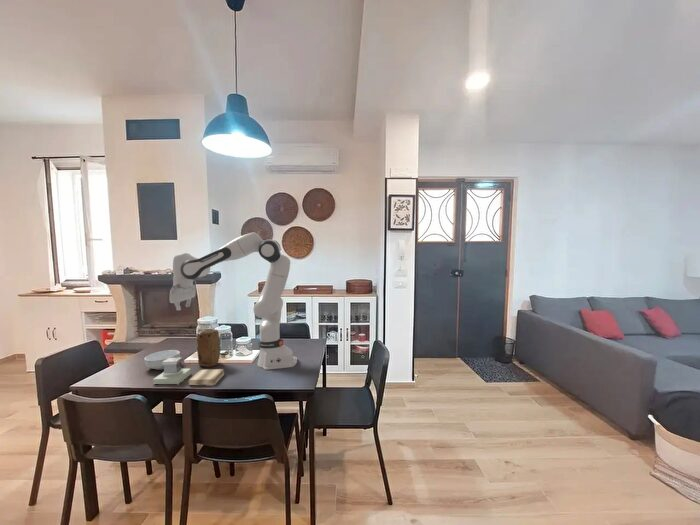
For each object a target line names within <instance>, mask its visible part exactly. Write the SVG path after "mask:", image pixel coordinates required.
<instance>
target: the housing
mask: <svg viewBox="0 0 700 525" xmlns="http://www.w3.org/2000/svg"><path fill="white" fill-rule="evenodd" d="M183 358H184V357H180V358H168V359H166V360H164V361H163V362H162V365H164V369H163V372H164V373H163V372H162V373H163V376H177V375H179V374H180V373H181V372H182V371H183V369H184V368H182V361H183Z"/></svg>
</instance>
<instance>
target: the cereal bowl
mask: <svg viewBox="0 0 700 525" xmlns="http://www.w3.org/2000/svg"><path fill="white" fill-rule="evenodd" d="M168 358H181V351H179V349H178V350H177V349H168V350H167V349H166V350H162V351H161V350H160V351H156V352H154V353H150V354H148V355H146V356H144V360H143V361H144V364H145V366H146V367H147V368H149V369H155V370H164V365H162V362H163V361H164V360H166V359H168Z"/></svg>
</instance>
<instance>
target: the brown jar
mask: <svg viewBox="0 0 700 525" xmlns="http://www.w3.org/2000/svg"><path fill="white" fill-rule="evenodd" d="M219 333H220V332H219V330H218V329H212V328H211V329H204V330H202V331H201V332H200V333H199V334H198V337H197V353H198V355H197V361H198V362H197V364H198V365H199V366H202V367H207V368H210V367H215V366H216V365H218V364H219V361H220V356H221V355H220V354H221V353H220V351H221V350H220V349H221V348H220V335H219Z"/></svg>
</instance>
